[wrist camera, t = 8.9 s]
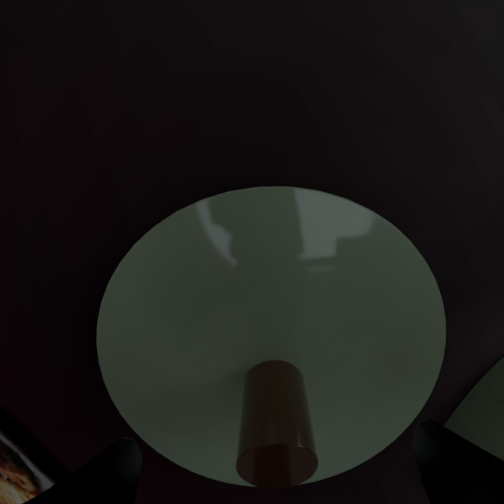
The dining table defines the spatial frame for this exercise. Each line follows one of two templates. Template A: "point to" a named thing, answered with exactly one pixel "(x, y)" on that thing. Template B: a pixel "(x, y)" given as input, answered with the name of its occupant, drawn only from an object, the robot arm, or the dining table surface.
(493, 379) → the squat sage green cylinder
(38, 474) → the food plate
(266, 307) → the lid
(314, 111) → the dining table surface
